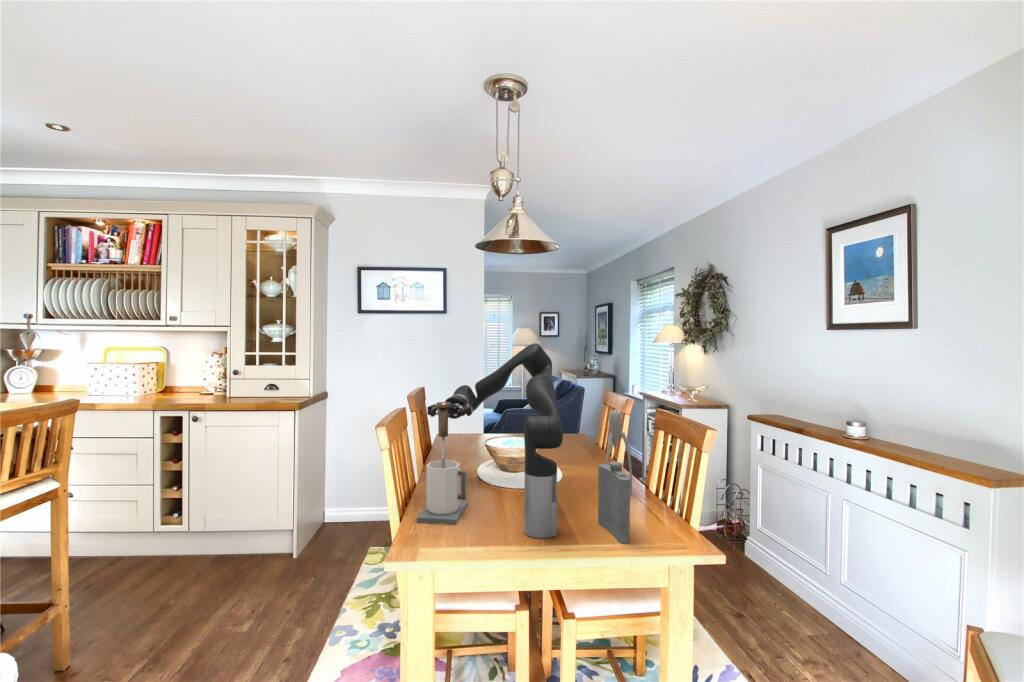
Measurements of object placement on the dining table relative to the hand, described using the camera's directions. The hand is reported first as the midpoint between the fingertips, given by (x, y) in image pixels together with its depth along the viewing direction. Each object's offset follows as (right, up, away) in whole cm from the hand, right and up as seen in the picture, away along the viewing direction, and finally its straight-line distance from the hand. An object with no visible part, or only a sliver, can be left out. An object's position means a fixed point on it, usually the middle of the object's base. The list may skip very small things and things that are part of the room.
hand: (444, 413), depth 158 cm
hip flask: (+50, -32, -14) cm, 61 cm away
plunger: (0, -19, -1) cm, 19 cm away
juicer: (+58, -31, +17) cm, 68 cm away
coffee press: (0, -31, -1) cm, 31 cm away
